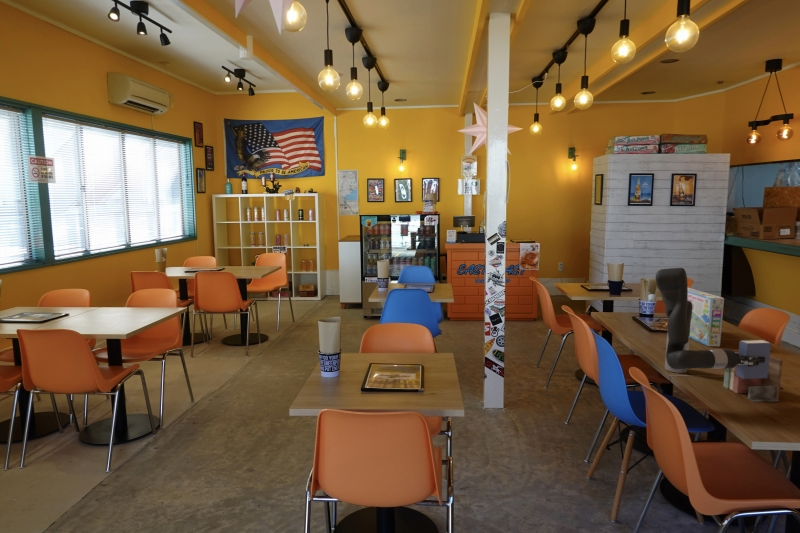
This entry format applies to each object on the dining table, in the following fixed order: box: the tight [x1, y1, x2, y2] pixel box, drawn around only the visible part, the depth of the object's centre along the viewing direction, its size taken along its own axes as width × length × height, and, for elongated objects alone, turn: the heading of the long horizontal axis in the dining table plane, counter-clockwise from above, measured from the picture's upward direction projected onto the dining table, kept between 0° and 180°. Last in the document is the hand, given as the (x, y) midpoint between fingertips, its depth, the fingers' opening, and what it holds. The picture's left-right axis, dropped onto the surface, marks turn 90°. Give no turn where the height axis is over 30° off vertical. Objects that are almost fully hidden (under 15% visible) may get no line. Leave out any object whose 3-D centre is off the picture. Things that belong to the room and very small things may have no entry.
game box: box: [688, 287, 725, 347], centre depth 306 cm, size 40×7×27 cm, turn 178°
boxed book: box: [736, 339, 772, 379], centre depth 207 cm, size 10×4×14 cm, turn 97°
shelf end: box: [722, 355, 784, 403], centre depth 217 cm, size 12×18×16 cm, turn 6°
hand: (759, 357), depth 207 cm, fingers closed on boxed book, 4 cm apart
